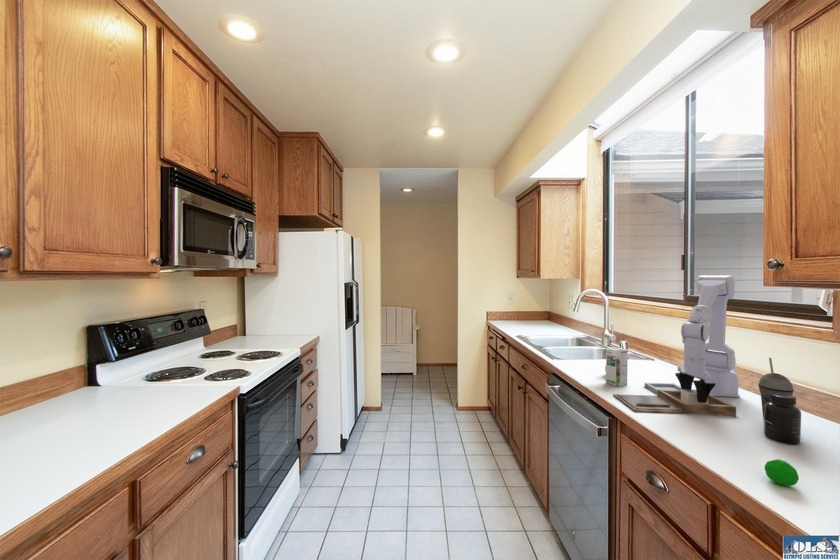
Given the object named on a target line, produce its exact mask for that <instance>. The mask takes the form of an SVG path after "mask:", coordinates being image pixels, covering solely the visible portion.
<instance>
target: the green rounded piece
mask: <svg viewBox="0 0 840 560" xmlns="http://www.w3.org/2000/svg"><path fill="white" fill-rule="evenodd" d="M764 471H765V474H766V476H767V478H769V479H770V480H771V481H772V482H773V483H775V484H776V485H779V486H782V487H790V486H791V487H792V486H795V485H796V484H797V483H798V482H799V475H798V472H797V469H796V468H795V467H794V466H793V465H791V464H790V463H789V462H787V461H786V460H782V459H777V458H776V459H773V460H769V461H766V462H765V463H764Z"/></svg>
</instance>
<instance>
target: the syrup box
mask: <svg viewBox="0 0 840 560" xmlns="http://www.w3.org/2000/svg"><path fill="white" fill-rule="evenodd" d="M628 352H629V350H628V349H626V348H621V347H616V346H615V347H614V346H609V347H606V352H605V357H606V358H605V359H606V360H605V366H606V371H605V383H606V384H608V383H609V385H612V386H615V387H623V386H628V360H629V358H628V356H629V355H628Z"/></svg>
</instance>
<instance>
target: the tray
mask: <svg viewBox="0 0 840 560" xmlns="http://www.w3.org/2000/svg"><path fill="white" fill-rule="evenodd" d="M644 388H646V389H648V390H649V391H652V392H653V393H655V395H656V394H657V395H658V390H681V385H678V384H676V383H671V382H670V383H666V382H665V383H663V382H644Z"/></svg>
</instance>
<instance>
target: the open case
mask: <svg viewBox="0 0 840 560" xmlns="http://www.w3.org/2000/svg"><path fill="white" fill-rule="evenodd" d="M613 397H614V398H615V397H616V398H615V399H617V400H618V401H619V400H620V401H619V402H621V403H622V404H624V405H625V407H627V408H629V409H630V410H631V411H633V412H635V413H651V412H652V413H655V414H681V415H682V414H683V415H684V414H685V415H706V414H707V415H712V416H733V417H734V416H737V406H736V405H733V404H731V403H729V402H726V401H725V400H722V399H720V398H719V397H717V396H712V395H710V394H709V396H708V404H686V403H684V402H683V401H681V390H658V394H657V395H645V394H642V395H641V394H640V395H639V394H618V393H617V394H613Z"/></svg>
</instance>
